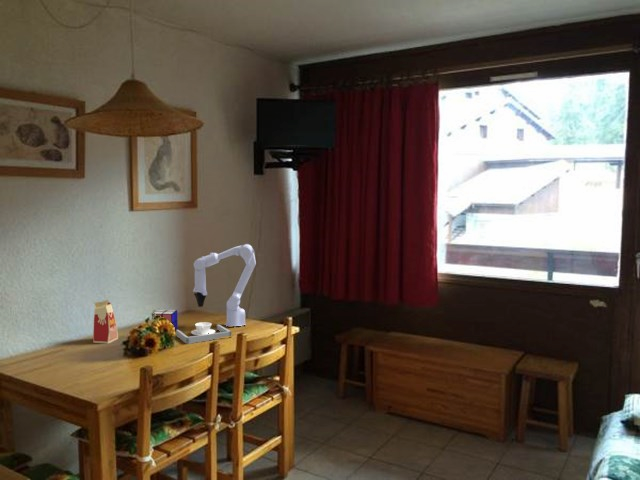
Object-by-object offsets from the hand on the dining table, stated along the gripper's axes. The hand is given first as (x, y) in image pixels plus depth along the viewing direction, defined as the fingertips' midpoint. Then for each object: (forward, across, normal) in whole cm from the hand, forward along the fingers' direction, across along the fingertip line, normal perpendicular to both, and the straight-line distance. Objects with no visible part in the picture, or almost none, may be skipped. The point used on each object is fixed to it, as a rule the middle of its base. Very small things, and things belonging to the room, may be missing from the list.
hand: (200, 306), depth 285 cm
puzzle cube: (+10, 0, -19) cm, 22 cm away
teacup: (+11, +17, -5) cm, 20 cm away
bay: (+10, +20, -6) cm, 24 cm away
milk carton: (+10, +4, -49) cm, 50 cm away
